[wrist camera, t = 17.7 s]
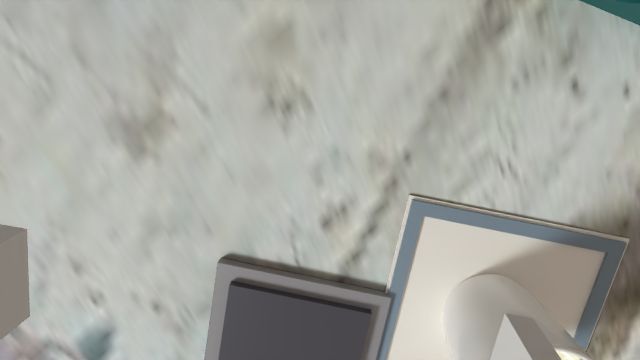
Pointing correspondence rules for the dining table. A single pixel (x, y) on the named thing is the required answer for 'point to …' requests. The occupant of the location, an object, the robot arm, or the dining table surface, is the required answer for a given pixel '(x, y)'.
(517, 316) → the robot arm
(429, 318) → the marked square
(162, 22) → the dining table surface
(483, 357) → the candle holder
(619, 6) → the bracket
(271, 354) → the ink pad
